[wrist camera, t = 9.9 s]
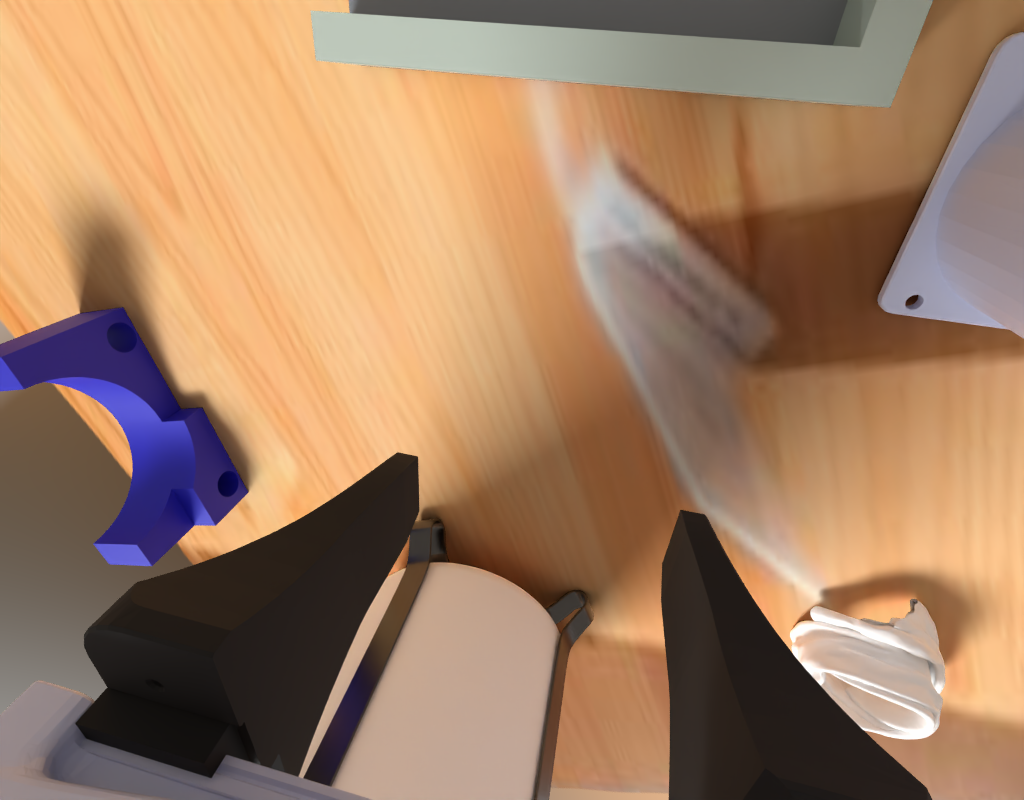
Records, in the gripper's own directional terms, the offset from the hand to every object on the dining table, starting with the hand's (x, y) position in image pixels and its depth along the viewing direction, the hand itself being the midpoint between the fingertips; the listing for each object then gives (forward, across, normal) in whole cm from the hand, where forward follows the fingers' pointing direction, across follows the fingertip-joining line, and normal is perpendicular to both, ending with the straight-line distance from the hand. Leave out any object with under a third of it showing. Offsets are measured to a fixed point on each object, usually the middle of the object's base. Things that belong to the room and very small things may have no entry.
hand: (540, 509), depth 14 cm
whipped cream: (+10, -17, +13) cm, 23 cm away
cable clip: (+10, +22, +7) cm, 25 cm away
